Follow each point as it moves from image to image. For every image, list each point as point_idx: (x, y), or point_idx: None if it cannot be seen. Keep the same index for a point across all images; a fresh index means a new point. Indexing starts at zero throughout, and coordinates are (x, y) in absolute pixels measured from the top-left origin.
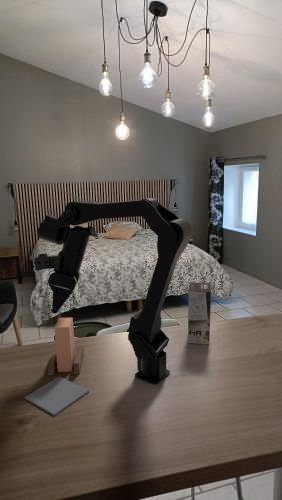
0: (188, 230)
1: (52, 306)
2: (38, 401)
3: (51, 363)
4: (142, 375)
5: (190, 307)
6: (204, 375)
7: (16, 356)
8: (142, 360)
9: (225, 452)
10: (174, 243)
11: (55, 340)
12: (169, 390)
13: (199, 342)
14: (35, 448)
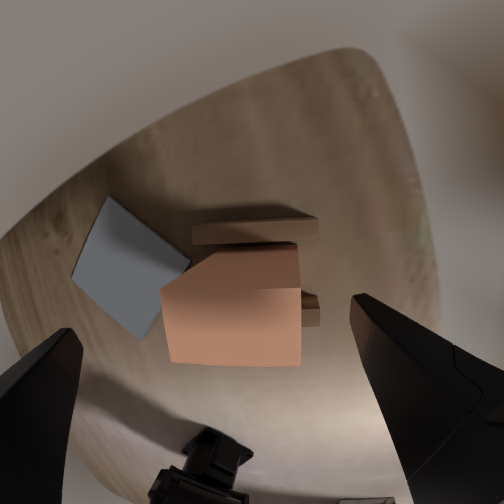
0: None
1: (31, 352)
2: (95, 235)
3: (196, 239)
4: (201, 440)
5: None
6: None
7: (320, 86)
8: (161, 469)
9: (83, 457)
10: None
11: (185, 272)
12: (171, 459)
13: None
14: (27, 263)
